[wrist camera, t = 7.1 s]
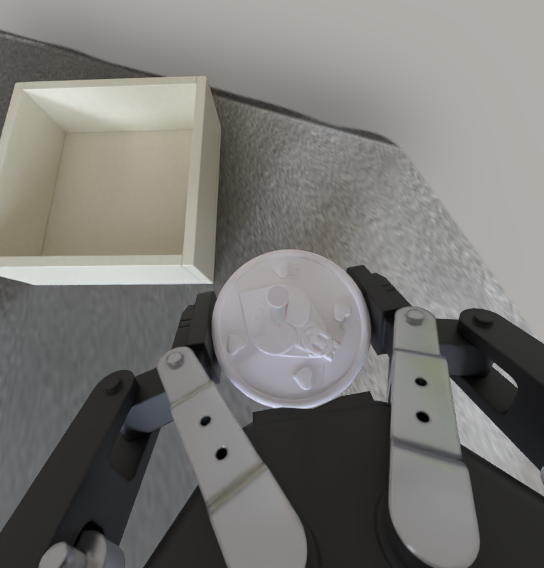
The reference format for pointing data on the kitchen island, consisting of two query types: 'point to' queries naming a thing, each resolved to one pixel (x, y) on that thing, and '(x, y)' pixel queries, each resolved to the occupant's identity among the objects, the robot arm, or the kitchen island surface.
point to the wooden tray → (110, 182)
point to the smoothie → (291, 329)
